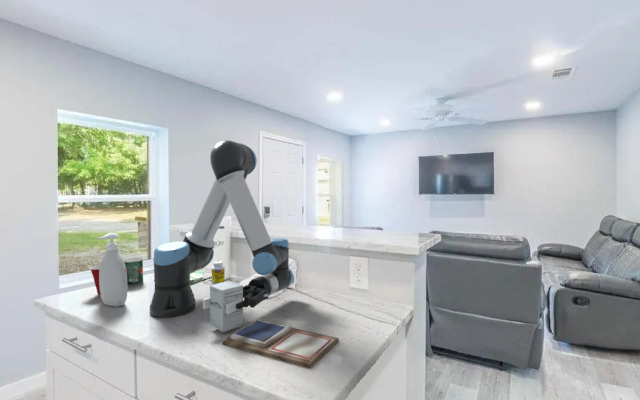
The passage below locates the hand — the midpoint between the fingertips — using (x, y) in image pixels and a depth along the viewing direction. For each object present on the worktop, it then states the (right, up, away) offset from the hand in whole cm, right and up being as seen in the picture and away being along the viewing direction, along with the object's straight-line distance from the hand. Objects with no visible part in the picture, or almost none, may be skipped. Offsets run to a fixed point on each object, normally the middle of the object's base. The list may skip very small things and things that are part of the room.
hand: (215, 307), depth 100 cm
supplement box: (+2, -7, +4) cm, 9 cm away
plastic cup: (-58, -7, +41) cm, 71 cm away
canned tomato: (-54, -7, +55) cm, 77 cm away
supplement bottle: (-15, -7, +52) cm, 54 cm away
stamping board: (+20, -8, -5) cm, 22 cm away
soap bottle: (-47, -8, +27) cm, 55 cm away
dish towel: (-32, -7, +61) cm, 70 cm away
